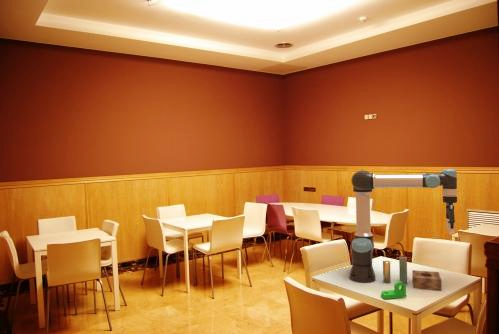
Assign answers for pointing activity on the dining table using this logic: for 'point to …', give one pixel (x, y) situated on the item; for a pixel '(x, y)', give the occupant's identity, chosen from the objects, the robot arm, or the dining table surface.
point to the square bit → (403, 269)
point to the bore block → (426, 280)
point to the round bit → (386, 272)
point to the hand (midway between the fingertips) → (450, 231)
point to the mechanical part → (395, 291)
